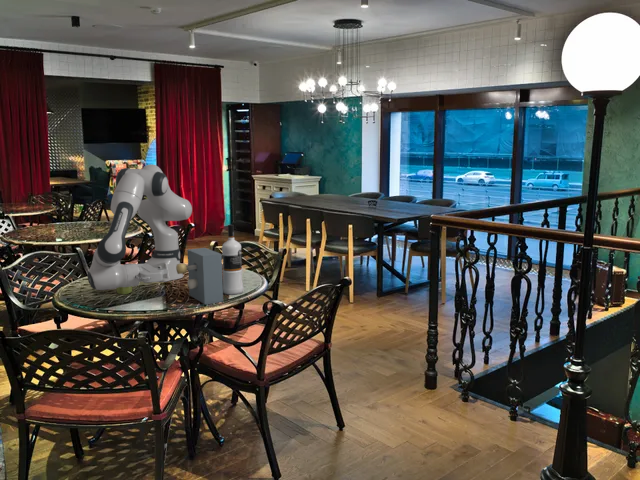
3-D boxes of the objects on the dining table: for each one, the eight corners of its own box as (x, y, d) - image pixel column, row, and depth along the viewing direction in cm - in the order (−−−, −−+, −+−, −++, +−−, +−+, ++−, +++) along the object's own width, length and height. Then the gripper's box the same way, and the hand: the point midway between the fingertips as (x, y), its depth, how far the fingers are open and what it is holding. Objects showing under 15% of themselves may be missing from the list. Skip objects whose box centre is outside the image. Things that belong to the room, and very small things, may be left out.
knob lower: (191, 290, 240) (190, 280, 240) (187, 288, 244) (187, 278, 243) (221, 285, 248) (221, 276, 247) (218, 283, 251) (217, 274, 250)
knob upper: (179, 274, 237) (179, 265, 236) (176, 273, 240) (176, 263, 240) (211, 270, 244) (210, 261, 243) (207, 269, 247) (207, 259, 247)
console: (204, 304, 237) (202, 256, 234) (189, 295, 252) (187, 249, 249) (223, 301, 241) (221, 254, 238) (206, 292, 256) (205, 247, 253)
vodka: (231, 289, 262) (228, 222, 257) (248, 291, 258) (246, 224, 253) (218, 293, 254) (215, 225, 249) (235, 296, 250) (233, 226, 245)
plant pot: (115, 296, 251) (113, 276, 249) (111, 291, 259) (110, 272, 258) (137, 293, 255) (136, 274, 254) (133, 289, 263) (132, 270, 262)
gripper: (139, 271, 220) (174, 267, 227) (125, 262, 237) (158, 259, 244) (140, 288, 221) (175, 283, 228) (126, 278, 238) (159, 273, 245)
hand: (166, 270), depth 236 cm, fingers closed
